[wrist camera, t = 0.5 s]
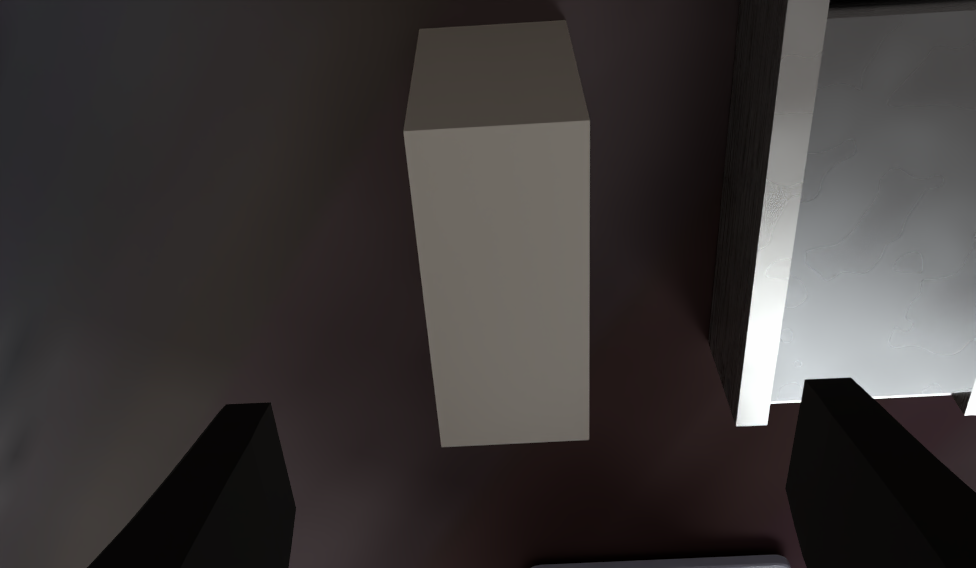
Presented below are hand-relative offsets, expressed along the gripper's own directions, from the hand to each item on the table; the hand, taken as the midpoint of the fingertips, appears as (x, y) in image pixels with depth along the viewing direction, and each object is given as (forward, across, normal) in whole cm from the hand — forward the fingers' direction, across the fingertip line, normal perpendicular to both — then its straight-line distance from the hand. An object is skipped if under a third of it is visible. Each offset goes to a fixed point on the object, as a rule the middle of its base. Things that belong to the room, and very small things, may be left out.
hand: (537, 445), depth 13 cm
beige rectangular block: (+10, 0, +1) cm, 10 cm away
